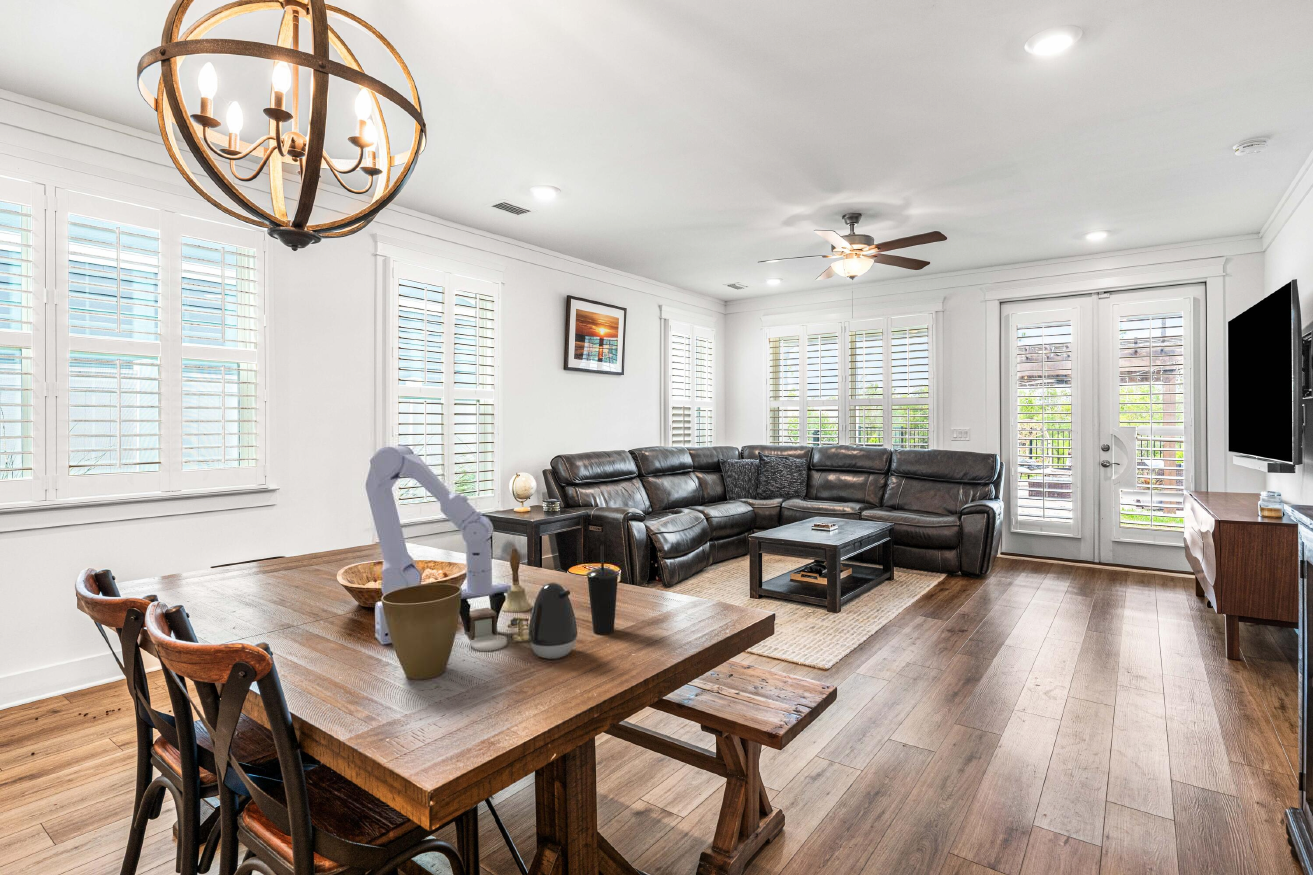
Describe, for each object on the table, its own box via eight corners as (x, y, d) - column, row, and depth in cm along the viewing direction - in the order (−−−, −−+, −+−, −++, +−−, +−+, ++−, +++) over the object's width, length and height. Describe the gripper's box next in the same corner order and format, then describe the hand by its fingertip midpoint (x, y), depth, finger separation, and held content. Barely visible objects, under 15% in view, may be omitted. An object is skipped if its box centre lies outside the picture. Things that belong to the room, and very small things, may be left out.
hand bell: (514, 614, 167) (513, 552, 167) (493, 609, 172) (492, 549, 172) (539, 606, 174) (537, 547, 173) (518, 601, 179) (517, 544, 178)
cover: (472, 639, 148) (471, 617, 148) (464, 633, 153) (463, 611, 152) (497, 634, 151) (496, 613, 151) (488, 628, 156) (488, 607, 156)
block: (475, 638, 149) (474, 621, 149) (469, 634, 152) (469, 617, 152) (492, 635, 151) (491, 618, 151) (486, 630, 155) (485, 614, 154)
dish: (478, 653, 139) (477, 648, 139) (466, 643, 145) (466, 639, 145) (512, 646, 143) (511, 641, 143) (499, 637, 149) (499, 632, 149)
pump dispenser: (551, 667, 130) (549, 591, 130) (518, 655, 137) (517, 583, 137) (588, 653, 138) (587, 581, 138) (556, 642, 145) (554, 574, 145)
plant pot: (437, 654, 139) (435, 579, 139) (478, 670, 130) (477, 590, 129) (368, 675, 128) (366, 594, 127) (409, 695, 118) (407, 607, 118)
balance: (522, 648, 142) (522, 621, 142) (504, 635, 151) (503, 610, 151) (538, 644, 144) (537, 618, 144) (519, 632, 153) (518, 607, 153)
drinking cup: (615, 637, 148) (613, 549, 147) (582, 635, 149) (581, 548, 149) (623, 626, 155) (622, 543, 155) (592, 625, 157) (591, 542, 156)
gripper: (453, 577, 144) (454, 638, 144) (515, 568, 152) (516, 626, 153) (443, 571, 150) (445, 630, 150) (504, 563, 158) (505, 619, 158)
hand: (480, 628), depth 152 cm, fingers closed on cover, 6 cm apart
